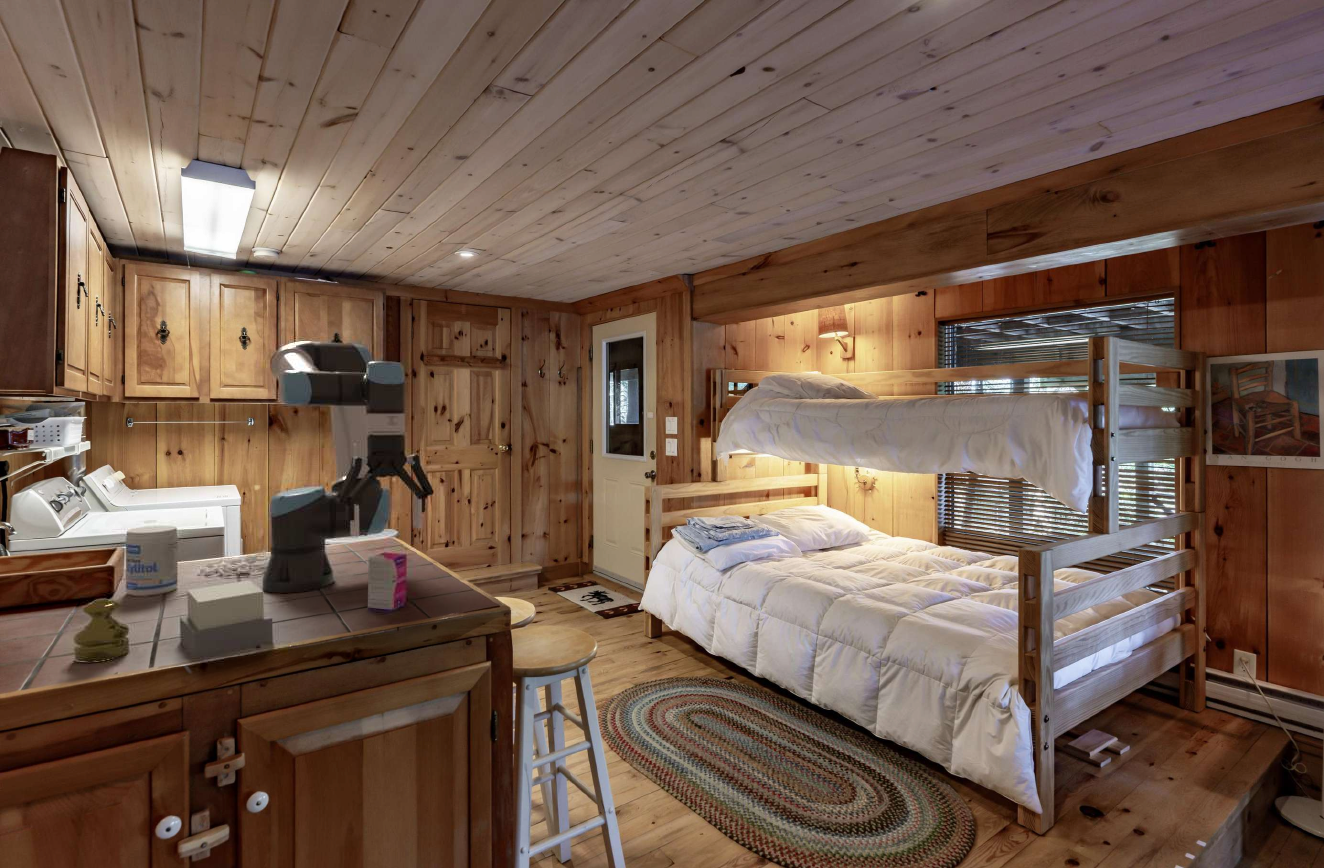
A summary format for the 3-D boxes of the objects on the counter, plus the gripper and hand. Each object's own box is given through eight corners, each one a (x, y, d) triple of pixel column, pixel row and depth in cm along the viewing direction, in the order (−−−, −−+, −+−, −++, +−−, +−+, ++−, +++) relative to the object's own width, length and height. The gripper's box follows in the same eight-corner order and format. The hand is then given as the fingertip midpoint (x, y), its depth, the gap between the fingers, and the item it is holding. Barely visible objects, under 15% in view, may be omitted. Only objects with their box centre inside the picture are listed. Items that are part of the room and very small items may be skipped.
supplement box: (391, 612, 140) (391, 559, 140) (367, 610, 142) (366, 557, 141) (407, 604, 146) (407, 553, 146) (383, 602, 147) (383, 551, 147)
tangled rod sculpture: (186, 585, 164) (184, 569, 163) (211, 566, 178) (209, 551, 177) (272, 579, 168) (270, 563, 168) (290, 561, 182) (289, 546, 182)
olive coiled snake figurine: (90, 666, 110) (89, 608, 110) (64, 660, 113) (62, 602, 113) (139, 651, 117) (138, 596, 117) (113, 645, 120) (111, 591, 119)
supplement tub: (119, 599, 147) (117, 533, 147) (134, 587, 156) (132, 526, 155) (172, 594, 151) (170, 531, 150) (183, 584, 160) (182, 523, 159)
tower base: (180, 643, 122) (180, 617, 122) (254, 628, 131) (253, 603, 131) (194, 662, 114) (194, 633, 114) (272, 644, 122) (272, 618, 122)
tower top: (187, 616, 122) (187, 590, 122) (249, 605, 129) (249, 580, 129) (198, 630, 115) (198, 602, 115) (263, 617, 122) (263, 591, 122)
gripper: (331, 435, 130) (332, 542, 131) (448, 432, 148) (449, 526, 149) (318, 434, 136) (319, 536, 136) (432, 431, 154) (433, 522, 154)
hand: (387, 531), depth 143 cm, fingers open, 13 cm apart
